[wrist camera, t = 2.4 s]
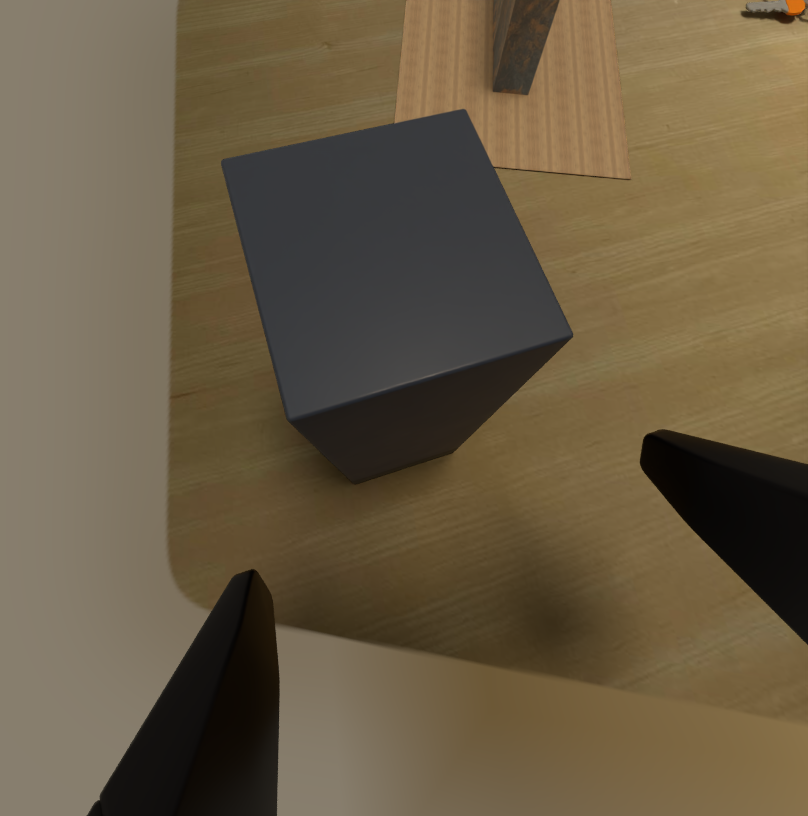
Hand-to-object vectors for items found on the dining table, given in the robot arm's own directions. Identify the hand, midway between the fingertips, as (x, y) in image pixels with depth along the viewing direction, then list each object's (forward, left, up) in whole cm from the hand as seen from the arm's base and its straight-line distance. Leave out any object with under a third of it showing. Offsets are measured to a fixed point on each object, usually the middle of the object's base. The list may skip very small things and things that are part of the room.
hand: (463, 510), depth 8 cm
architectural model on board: (+36, 0, -12) cm, 38 cm away
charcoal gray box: (+7, +4, -12) cm, 14 cm away
